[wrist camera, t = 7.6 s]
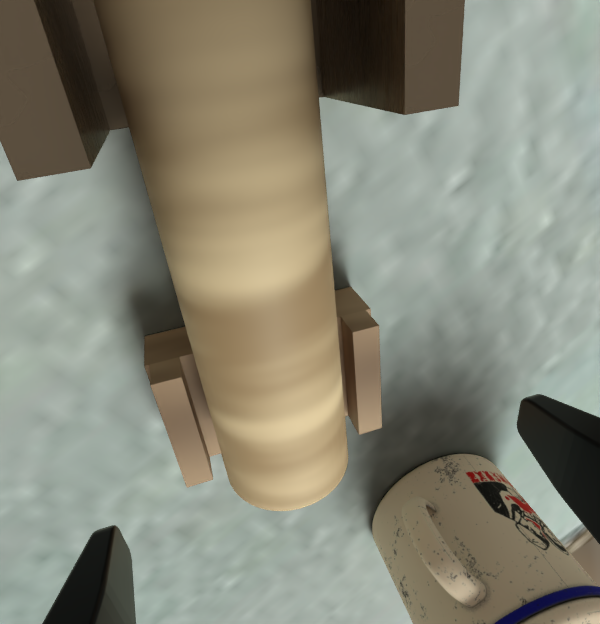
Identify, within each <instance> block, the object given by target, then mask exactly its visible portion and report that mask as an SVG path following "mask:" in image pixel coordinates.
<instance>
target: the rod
mask: <svg viewBox="0 0 600 624" xmlns="http://www.w3.org/2000/svg"><path fill="white" fill-rule="evenodd" d="M93 2H94V5H95V9H96V12H97V16H98V19H99V23H100V26H101V30H102V33H103V37H104V40H105V44H106V47H107V51H108V55H109V58H110V62H111V65H112V69H113V72H114V76H115V79H116V83H117V86H118V90H119V93H120V97H121V100H122V104H123V107H124V111H125V115H126V118H127V122H128V125H129V129H130V132H131V136H132V139H133V143H134V146H135V150H136V153H137V157H138V160H139V164H140V168H141V171H142V175H143V178H144V182H145V185H146V189H147V192H148V196H149V199H150V203H151V206H152V210H153V213H154V217H155V221H156V224H157V228H158V231H159V235H160V238H161V242H162V245H163V249H164V252H165V256H166V259H167V263H168V266H169V270H170V274H171V277H172V281H173V284H174V288H175V291H176V295H177V298H178V302H179V305H180V309H181V312H182V316H183V319H184V323H185V327H186V330H187V334H188V337H189V341H190V344H191V348H192V351H193V355H194V358H195V362H196V365H197V369H198V372H199V376H200V380H201V383H202V387H203V390H204V394H205V397H206V401H207V404H208V408H209V411H210V415H211V418H212V422H213V425H214V429H215V433H216V436H217V440H218V443H219V447H220V450H221V454H222V457H223V461H224V464H225V468H226V471H227V475H228V478H229V481H230V484H231V486H232V487H233V489H234V491H235V492H236V493H237V494H238V495H239V496H240V497H241V498H242V499H243V500H245V501H246V502H248V503H249V504H251V505H254V506H256V507H259V508H262V509H266V510H272V511H288V510H295V509H300V508H303V507H306V506H309V505H311V504H313V503H316V502H318V501H319V500H321V499H323V498H324V497H325V496H327V495H328V494H329V493H330V492H331V491H332V490H333V489H334V488H335V487H336V486H337V485H338V484H339V482H340V481H341V479H342V477H343V476H344V474H345V471H346V468H347V463H348V448H347V436H346V423H345V411H344V399H343V387H342V375H341V363H340V350H339V338H338V326H337V314H336V302H335V290H334V278H333V265H332V253H331V241H330V229H329V217H328V205H327V192H326V180H325V168H324V156H323V144H322V132H321V120H320V107H319V95H318V83H317V71H316V59H315V47H314V34H313V22H312V10H311V0H93Z"/></svg>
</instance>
